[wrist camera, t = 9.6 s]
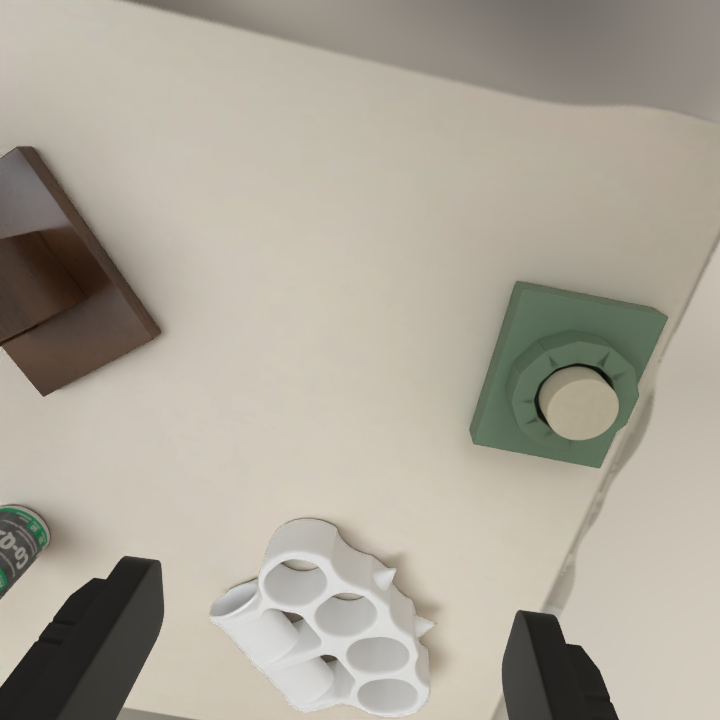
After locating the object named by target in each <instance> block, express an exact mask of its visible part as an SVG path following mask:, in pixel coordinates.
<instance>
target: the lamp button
mask: <svg viewBox="0 0 720 720" xmlns="http://www.w3.org/2000/svg"><path fill="white" fill-rule="evenodd" d="M539 405H540V408H541V410H542V412H543V414H544V416H545V418H546V420H547V421H548V423H549V425H550V427H551V428H552V429H553V430H554V431H555V432H556V433H557V434H558V435H560V436H562V437H564V438H567V439H570V440H587V439H591V438H594V437H596V436H598V435H600V434H602V433H603V432H605V431H606V430H607V429H608V428H609V427H610V426H611V425H612V424H613V422H614V421H615V419H616V417H617V414H618V410H619V402H618V398H617V395H616V393H615V392H614V390H613V389H612V388H611V387H610V386H609V385H608V384H607V382H606V381H605V380H604V379H603V378H602V377H601V376H600V375H599V374H598V373H597V372H595V371H594V370H592V369H589V368H586V367H580V366H573V367H567V368H564V369H561V370H559V371H557V372H555V373H554V374H552V375H551V376H550V377H549V378H548V379H547V380H546V381H545V382H544V384H543V386H542V388H541V390H540V393H539Z"/></svg>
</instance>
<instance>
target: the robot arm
mask: <svg viewBox="0 0 720 720" xmlns="http://www.w3.org/2000/svg"><path fill="white" fill-rule="evenodd" d="M163 617H164V598H163V584H162V569H161V563H160V561H159V560H153V559H145V558H138V557H131V556H125V557H123V558H122V559H121V560H120V561H119V562H118V563H117V565H116V566H115V568H114V569H113V571H112V572H111V573H110V575H109V576H108V578H107V579H99V578H93V579H92V580H90V581H89V582H88V583H86V584H85V585H84V586H82V587H81V588H80V589H78V590H77V591H76V592H75V593H73V594H72V595H71V596H70V597H69V598H68V599H67V601H66V602H65V603H64V605H63V606H62V607H61V609H60V610H59V611H58V613H57V614H56V615H55V616H54V618H53V621H52V623H49V624H48V626H47V627H46V628H45V630H44V631H43V632H42V634H41V635H40V636H39V640H38V641H37V642H35V643H34V644H33V645H32V647H31V648H30V649H29V651H28V652H27V653H26V655H25V656H24V657H23V659H22V660H21V661H20V663H19V664H18V665H17V667H16V668H15V669H14V670H13V672H12V673H11V674H10V676H9V677H8V678H7V680H6V681H5V682H4V684H3V685H2V686H1V688H0V720H116V718H117V716H118V714H119V712H120V710H121V708H122V707H123V705H124V703H125V701H126V699H127V697H128V695H129V693H130V691H131V689H132V687H133V685H134V683H135V681H136V679H137V677H138V675H139V673H140V671H141V669H142V667H143V665H144V663H145V661H146V659H147V657H148V655H149V654H150V652H151V650H152V648H153V646H154V644H155V642H156V640H157V637H158V635H159V632H160V629H161V626H162V622H163ZM502 685H503V692H504V697H505V702H506V707H507V712H508V717H509V720H619V719H618V717H617V714H616V711H615V709H614V706H613V704H612V703H611V702H610V696H609V693H608V691H607V688H606V686H605V683H604V681H603V678H602V675H601V673H600V670H599V669H598V668H597V666H596V665H595V664H594V662H593V661H592V660H591V659H590V657H589V656H588V655H587V653H586V652H585V651H584V649H583V648H582V647H581V646H579V645H572V644H566V642H565V639H564V636H563V634H562V630H561V628H560V625H559V622H558V620H557V618H556V617H555V616H554V615H552V614H545V613H537V612H530V611H522V610H519V611H518V612H517V613H516V616H515V619H514V622H513V626H512V629H511V633H510V636H509V639H508V643H507V646H506V650H505V653H504V657H503V662H502Z"/></svg>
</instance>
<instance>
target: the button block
mask: <svg viewBox="0 0 720 720" xmlns="http://www.w3.org/2000/svg"><path fill="white" fill-rule="evenodd" d="M667 319H668V317H667V316H666V315H664V314H663V313H661V312H659V311H658V310H656V309H655V308H652V307H647V306H642V305H637V304H632V303H627V302H622V301H617V300H612V299H607V298H601V297H596V296H591V295H586V294H581V293H576V292H571V291H566V290H561V289H556V288H551V287H546V286H541V285H535V284H530V283H525V282H520V281H516V283H515V286H514V289H513V293H512V296H511V299H510V302H509V305H508V309H507V312H506V315H505V318H504V321H503V324H502V328H501V331H500V334H499V337H498V340H497V344H496V347H495V350H494V353H493V356H492V360H491V363H490V366H489V369H488V372H487V376H486V379H485V382H484V385H483V388H482V391H481V395H480V398H479V401H478V404H477V407H476V411H475V414H474V417H473V420H472V423H471V427H470V434H471V437H472V441H473V444H476V445H482V446H487V447H492V448H497V449H502V450H507V451H512V452H518V453H523V454H528V455H533V456H538V457H543V458H549V459H554V460H559V461H564V462H569V463H574V464H580V465H585V466H590V467H595V468H600V467H601V465H602V463H603V460H604V458H605V456H606V454H607V452H608V449H609V447H610V445H611V443H612V440H613V438H614V436H615V434H616V432H617V431H618V430H620V429H621V428H622V427H623V426H625V425H626V423H627V422H628V419H629V417H630V415H631V413H632V411H633V409H634V406H635V404H636V402H637V400H638V398H639V393H638V387H637V385H638V383H639V381H640V378H641V376H642V374H643V372H644V370H645V367H646V365H647V363H648V361H649V358H650V356H651V354H652V352H653V350H654V347H655V345H656V343H657V341H658V339H659V336H660V334H661V332H662V330H663V327H664V325H665V323H666V321H667ZM573 366H580V367H586V368H589V369H592V370H594V371H595V372H597V373H598V374H599V375H600V376H601V377H602V378H603V379H604V380H605V381H606V382H607V384H608V385H609V386H610V387H611V388H612V389H613V390H614V392H615V393H616V395H617V398H618V402H619V410H618V414H617V417H616V419H615V421H614V422H613V424H612V425H611V426H610V427H609V428H608V429H607V430H606V431H605V432H603V433H602V434H600V435H598V436H596V437H594V438H591V439H587V440H570V439H567V438H564V437H562V436H560V435H558V434H557V433H556V432H555V431H554V430H553V429H552V428H551V427H550V425H549V423H548V421H547V420H546V418H545V416H544V414H543V412H542V410H541V408H540V405H539V393H540V390H541V388H542V386H543V384H544V382H545V381H546V380H547V379H548V378H549V377H550V376H551V375H552V374H554V373H555V372H557V371H559V370H561V369H564V368H567V367H573Z"/></svg>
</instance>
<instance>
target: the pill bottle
mask: <svg viewBox="0 0 720 720" xmlns="http://www.w3.org/2000/svg"><path fill="white" fill-rule="evenodd" d="M49 541H50V533H49V530H48V527H47V526H46V524H45V523H44V521H43V520H42V519H41V518H40V517H39V516H38V515H37V514H36V513H34V512H33V511H31V510H29V509H27V508H24V507H20V506H3V507H0V599H1V598H2V597H3V596H4V595H5V593H6V592H7V591H8V590H9V589H10V588H11V587H12V586H13V584H14V583H15V582H16V581H17V580H18V579H19V578H20V577H21V576H22V575H23V573H24V572H25V571H26V570H27V569H28V568H29V567H30V566H31V564H32V563H33V562H34V561H35V560H36V559H37V558H38V557H39V556H40V555H41V553H42V552H43V551H44V550H45V549H46V547H47V546H48V544H49Z"/></svg>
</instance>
